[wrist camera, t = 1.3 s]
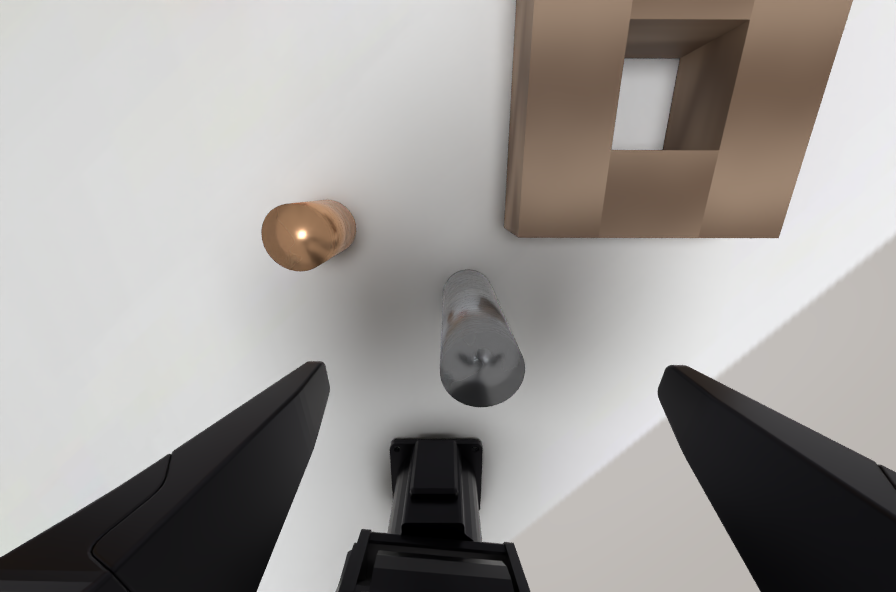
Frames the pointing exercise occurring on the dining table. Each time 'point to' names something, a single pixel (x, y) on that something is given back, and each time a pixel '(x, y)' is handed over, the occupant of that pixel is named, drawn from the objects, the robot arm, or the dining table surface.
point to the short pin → (307, 233)
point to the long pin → (477, 343)
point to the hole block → (690, 121)
